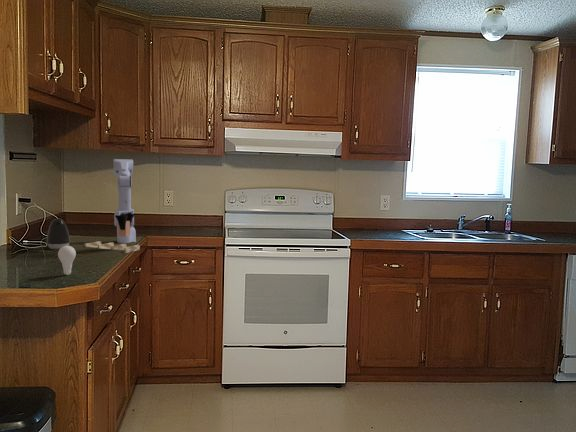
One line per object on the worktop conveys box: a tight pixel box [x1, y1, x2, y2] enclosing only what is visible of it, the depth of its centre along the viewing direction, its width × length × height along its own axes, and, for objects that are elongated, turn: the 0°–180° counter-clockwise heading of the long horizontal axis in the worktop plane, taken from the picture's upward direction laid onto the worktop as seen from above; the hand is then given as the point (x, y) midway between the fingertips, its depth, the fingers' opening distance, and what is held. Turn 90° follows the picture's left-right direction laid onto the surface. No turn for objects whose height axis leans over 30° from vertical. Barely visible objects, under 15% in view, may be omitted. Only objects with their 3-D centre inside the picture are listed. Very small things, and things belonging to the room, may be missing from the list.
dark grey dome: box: [46, 217, 71, 250], centre depth 241 cm, size 10×10×15 cm
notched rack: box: [84, 240, 141, 254], centre depth 246 cm, size 10×25×2 cm, turn 68°
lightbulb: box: [57, 245, 77, 276], centre depth 187 cm, size 6×6×11 cm
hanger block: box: [118, 221, 130, 236], centre depth 242 cm, size 4×4×7 cm
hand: (125, 229), depth 242 cm, fingers closed on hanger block, 4 cm apart
